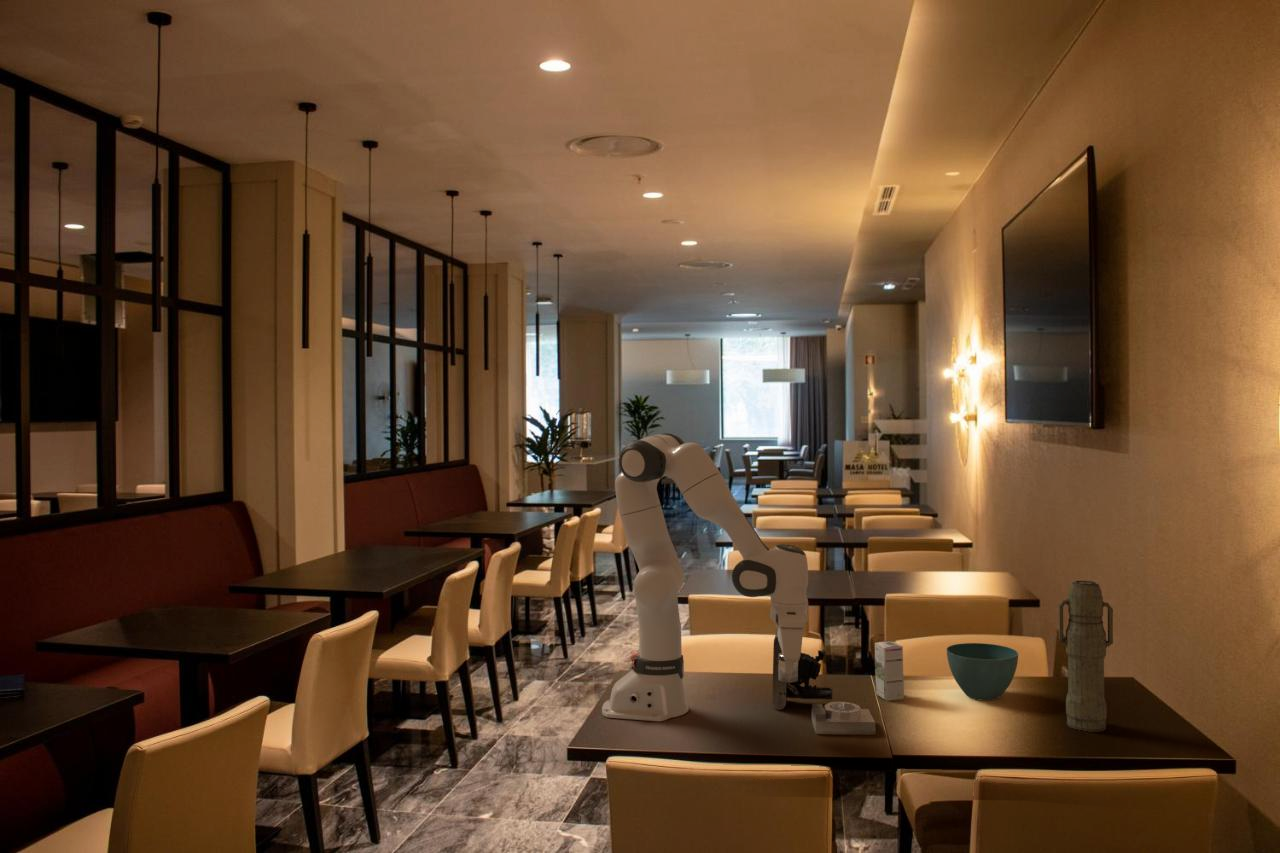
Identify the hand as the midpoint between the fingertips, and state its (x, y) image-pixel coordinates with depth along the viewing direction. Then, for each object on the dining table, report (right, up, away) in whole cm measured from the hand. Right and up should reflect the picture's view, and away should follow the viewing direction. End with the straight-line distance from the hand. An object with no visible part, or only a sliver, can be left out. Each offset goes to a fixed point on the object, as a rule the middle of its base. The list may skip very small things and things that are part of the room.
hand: (787, 669), depth 228 cm
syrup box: (+32, -15, +27) cm, 44 cm away
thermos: (+73, -14, +2) cm, 74 cm away
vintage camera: (+7, -15, +21) cm, 26 cm away
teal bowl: (+57, -14, +27) cm, 64 cm away
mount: (+14, -15, +3) cm, 21 cm away
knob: (0, -2, 0) cm, 2 cm away
